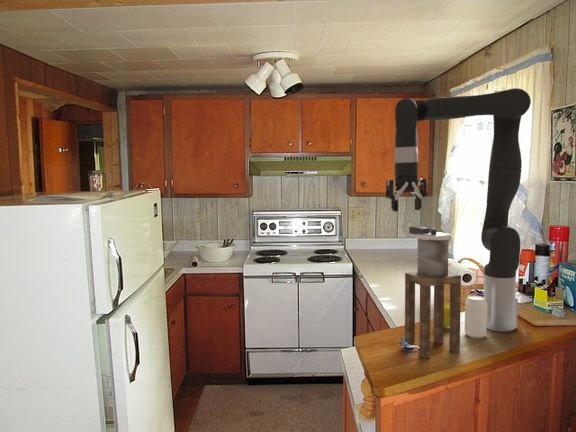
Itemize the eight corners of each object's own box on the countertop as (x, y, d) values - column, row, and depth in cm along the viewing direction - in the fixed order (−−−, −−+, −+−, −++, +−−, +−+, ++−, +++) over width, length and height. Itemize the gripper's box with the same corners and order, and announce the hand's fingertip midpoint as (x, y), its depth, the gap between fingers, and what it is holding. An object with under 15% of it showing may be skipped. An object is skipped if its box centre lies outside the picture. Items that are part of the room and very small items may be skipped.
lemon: (455, 331, 143) (456, 306, 142) (437, 330, 144) (437, 306, 143) (453, 325, 148) (453, 301, 148) (435, 324, 149) (435, 301, 149)
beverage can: (473, 330, 143) (474, 293, 142) (490, 336, 138) (491, 298, 137) (460, 334, 140) (460, 296, 139) (476, 340, 135) (477, 301, 134)
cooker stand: (439, 341, 135) (440, 235, 132) (459, 352, 127) (461, 239, 124) (404, 346, 131) (405, 238, 128) (423, 358, 123) (424, 242, 120)
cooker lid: (426, 232, 136) (426, 224, 136) (458, 239, 123) (458, 229, 123) (400, 234, 133) (400, 226, 133) (430, 241, 120) (430, 231, 120)
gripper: (393, 161, 142) (394, 212, 144) (431, 160, 147) (431, 210, 148) (381, 162, 149) (381, 211, 151) (417, 161, 154) (418, 208, 155)
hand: (406, 210), depth 149 cm, fingers open, 8 cm apart
